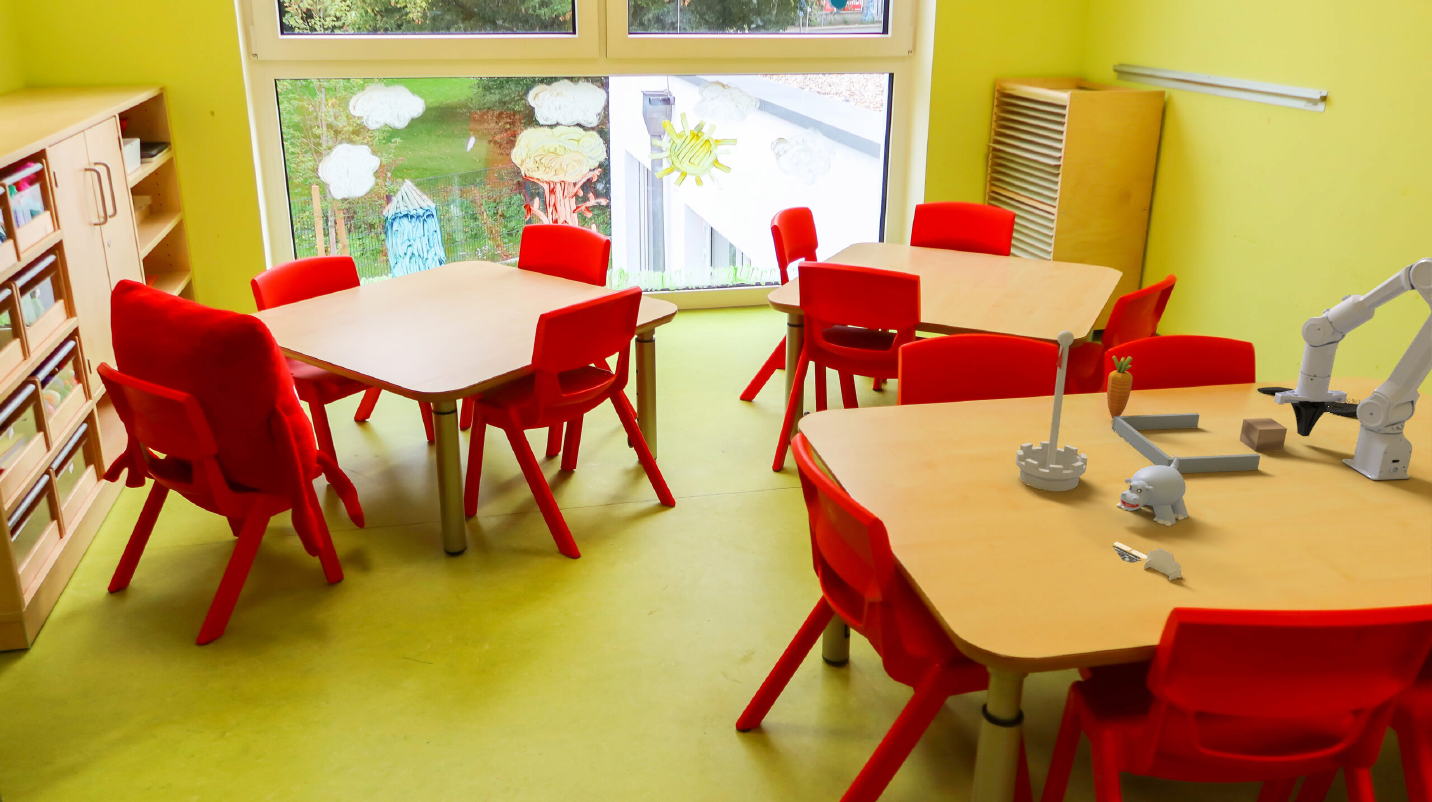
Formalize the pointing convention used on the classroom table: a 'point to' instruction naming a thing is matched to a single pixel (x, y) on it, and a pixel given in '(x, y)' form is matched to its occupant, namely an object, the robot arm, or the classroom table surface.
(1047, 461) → the flag stand
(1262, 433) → the walnut block
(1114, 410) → the carrot
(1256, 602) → the classroom table surface
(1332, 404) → the hairbrush
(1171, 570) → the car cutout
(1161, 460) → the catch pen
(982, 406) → the classroom table surface
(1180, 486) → the hippopotamus toy
